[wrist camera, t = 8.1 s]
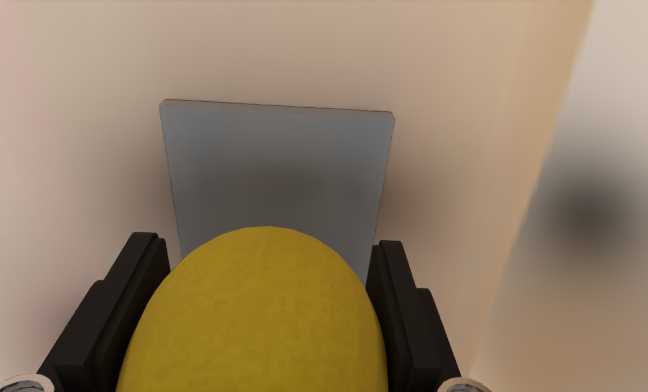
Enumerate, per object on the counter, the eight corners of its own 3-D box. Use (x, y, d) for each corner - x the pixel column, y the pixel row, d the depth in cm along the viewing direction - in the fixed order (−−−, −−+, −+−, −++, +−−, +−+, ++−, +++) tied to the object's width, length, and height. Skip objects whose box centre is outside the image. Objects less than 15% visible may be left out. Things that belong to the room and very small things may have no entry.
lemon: (213, 139, 10) (30, 518, 3) (396, 213, 12) (524, 581, 5) (160, 283, 13) (-6, 664, 6) (316, 329, 14) (326, 678, 7)
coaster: (363, 275, 16) (365, 285, 16) (189, 270, 16) (186, 281, 15) (391, 112, 13) (394, 119, 12) (165, 99, 12) (158, 106, 12)
